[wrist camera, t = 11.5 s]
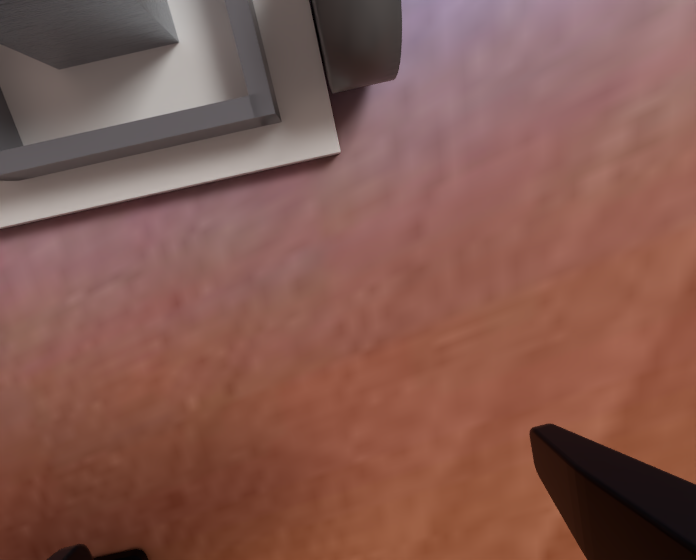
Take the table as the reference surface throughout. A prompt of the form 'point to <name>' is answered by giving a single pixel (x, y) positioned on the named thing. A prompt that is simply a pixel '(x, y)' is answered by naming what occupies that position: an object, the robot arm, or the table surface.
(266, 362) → the table surface
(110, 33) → the dark grey cube
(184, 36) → the toy car chassis
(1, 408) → the table surface
